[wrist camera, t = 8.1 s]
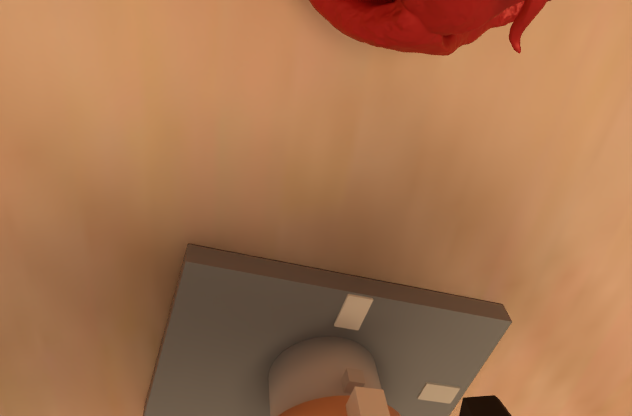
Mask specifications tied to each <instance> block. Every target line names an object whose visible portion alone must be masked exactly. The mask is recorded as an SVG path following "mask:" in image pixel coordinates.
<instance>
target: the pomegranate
mask: <svg viewBox="0 0 632 416" xmlns="http://www.w3.org/2000/svg"><path fill="white" fill-rule="evenodd" d="M309 1H310V2H311V4H312V6H313V7H314V8H315V9H316V10H317V11H318V12H319V13H320V14H321V15H322V16H323V17H324V18H325V19H327V20H328V21H329V22H330V23H331V24H332V25H333V26H334V27H335V28H336V29H338V30H339V31H341V32H342V33H343V34H345V35H347V36H349V37H351V38H353V39H355V40H357V41H360V42H365V43H367V44H370V45H373V46H376V47H383V48H387V49H392V50H396V51H401V52H415V53H425V54H431V55H443V56H444V55H449V54H451V53H453V52H454V51H455V50H456V49H457V48H458V47H460V46H462V45H465V44H470V43H472V42H473V41H475V40H476V39H478V37H480V36H481V35H482V34H483V33H484V32H485V31H487V30H488V29H490V28H494V27H500V26H504V25H506V24H508V23H510V22H513V21H514V22H513V24H512V26H511V28H510V33H509V40H510V42H511V44H512V47H513V48H514V50H515V51H516V52H518V53H520V52H521V47H520V38H521V35H522V33H523V31H524V30H525V28H526V27H527V26H528V25H529V24H530V22H531V21H532V20H533V19H534V18H535V16H536V15H537V14H538V13H539V11H540V10H541V9H542V8H543V7H544V5H545V4H546V2H547V1H551V0H309Z"/></svg>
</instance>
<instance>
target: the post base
mask: <svg viewBox="0 0 632 416" xmlns="http://www.w3.org/2000/svg"><path fill="white" fill-rule="evenodd" d="M511 323H512V321H511V319H510V317H509V315H508V313H507V311H506V309H505V308H504V306H503V305H502V304H497V303H492V302H487V301H481V300H476V299H471V298H466V297H461V296H456V295H450V294H445V293H440V292H435V291H430V290H424V289H419V288H414V287H409V286H404V285H399V284H393V283H388V282H383V281H378V280H373V279H367V278H362V277H357V276H352V275H347V274H342V273H336V272H331V271H326V270H321V269H316V268H310V267H305V266H300V265H295V264H290V263H285V262H279V261H274V260H269V259H264V258H259V257H253V256H248V255H243V254H238V253H233V252H228V251H222V250H217V249H212V248H207V247H202V246H196V245H191V244H188V245H187V249H186V253H185V256H184V260H183V264H182V268H181V271H180V275H179V279H178V283H177V286H176V290H175V294H174V298H173V301H172V305H171V309H170V313H169V316H168V320H167V324H166V328H165V331H164V335H163V339H162V343H161V346H160V350H159V354H158V358H157V361H156V365H155V369H154V373H153V376H152V380H151V384H150V388H149V391H148V395H147V399H146V403H145V406H144V412H143V416H278V415H280V414H281V413H283V412H284V411H286V410H288V409H290V408H292V407H294V406H296V405H299V404H301V403H304V402H307V401H310V400H314V399H318V398H323V397H330V396H346V395H348V396H350V395H351V393H352V391H353V389H354V387H355V386H357V387H365V388H373V389H382V390H384V394H385V398H386V402H387V405H389V406H390V407H392V408H394V409H395V410H396V411H397V412H399V414H400V415H401V416H449V415H450V414H451V412H452V411H453V409H454V408H455V406H456V405H457V403H458V402H459V400H460V399H461V397H462V396H463V394H464V393H465V391H466V390H467V388H468V387H469V385H470V384H471V382H472V381H473V379H474V378H475V376H476V375H477V373H478V372H479V371H480V369H481V368H482V366H483V365H484V363H485V362H486V360H487V359H488V357H489V356H490V354H491V353H492V351H493V350H494V348H495V347H496V345H497V344H498V342H499V341H500V339H501V338H502V336H503V335H504V333H505V332H506V330H507V329H508V327H509V326H510V324H511Z"/></svg>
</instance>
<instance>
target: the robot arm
mask: <svg viewBox="0 0 632 416" xmlns="http://www.w3.org/2000/svg"><path fill="white" fill-rule="evenodd" d="M459 416H511V414H510V413H509V412H508V410H507V409H506V408H505V406H504V405H503V404H502V402H501V401H500V400H499V399H498V398H497V397H496V396H495V395H493V396H480V397H467V398H463V401H462V405H461V410H460V414H459Z"/></svg>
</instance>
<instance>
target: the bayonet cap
mask: <svg viewBox="0 0 632 416" xmlns="http://www.w3.org/2000/svg"><path fill="white" fill-rule="evenodd" d="M278 416H401V415H400V414H399V412H397V411H396V410H395V409H394V408H392V407H390V406H389V405H387V402H386V398H385V394H384V390H382V389H373V388H365V387H357V386H355V387H354V389H353V391H352V393H351V395H350V396H348V395H346V396H330V397H323V398H318V399H314V400H310V401H307V402H304V403H301V404H299V405H296V406H294V407H292V408H290V409H288V410H286V411H284V412H283V413H281V414H280V415H278Z"/></svg>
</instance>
